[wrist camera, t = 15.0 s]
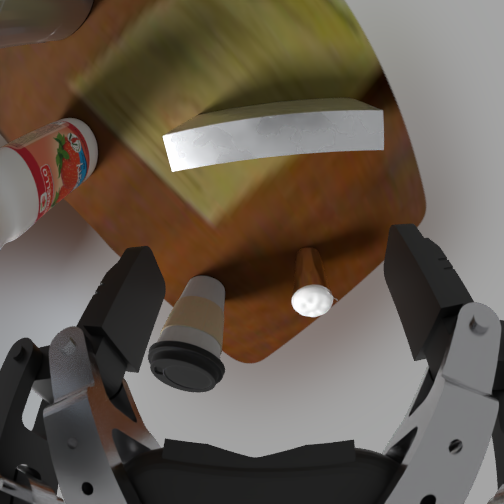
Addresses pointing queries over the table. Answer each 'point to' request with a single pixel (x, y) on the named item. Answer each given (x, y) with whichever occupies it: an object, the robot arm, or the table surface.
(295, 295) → the milkshake
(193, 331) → the coffee cup
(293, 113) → the panel
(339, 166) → the table surface
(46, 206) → the fruit juice
